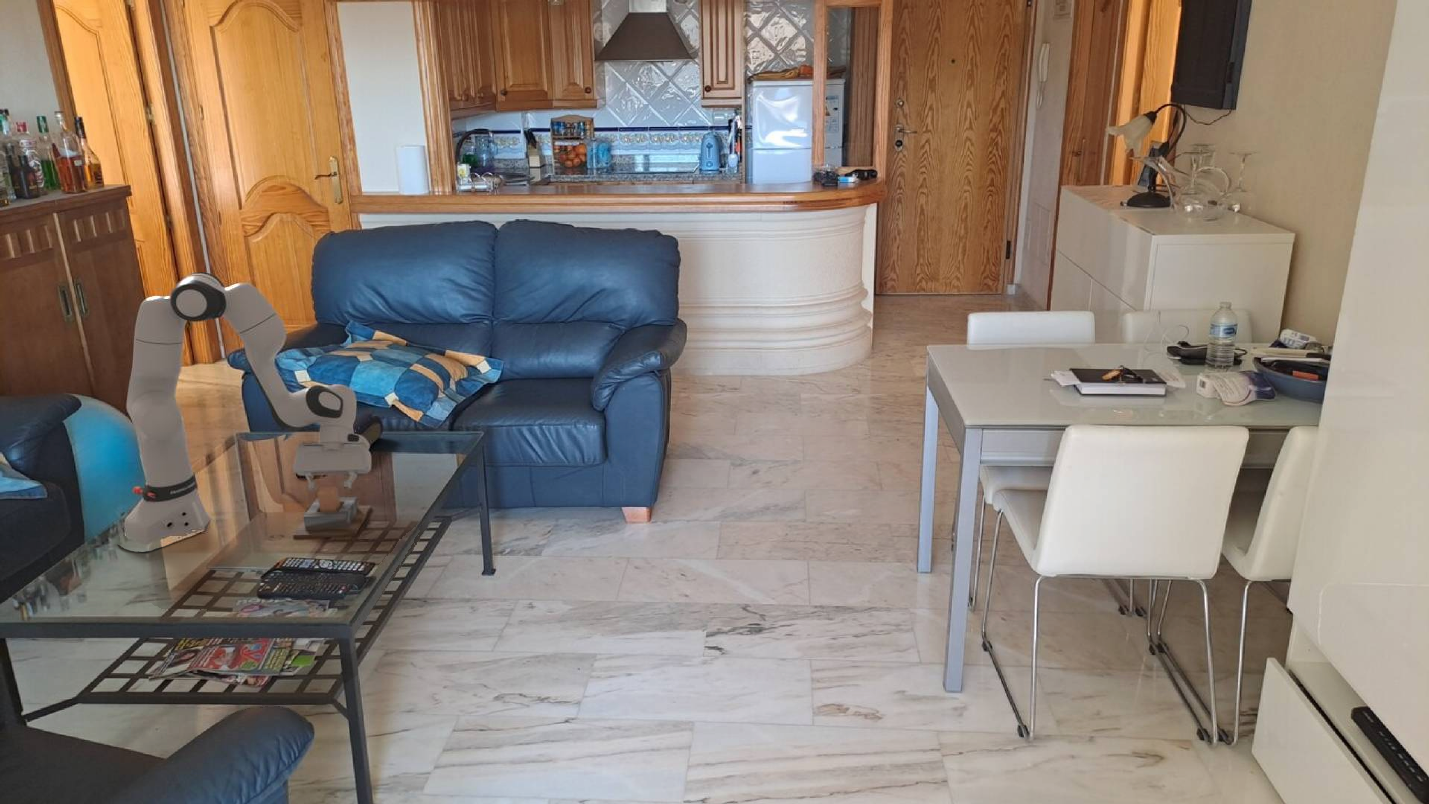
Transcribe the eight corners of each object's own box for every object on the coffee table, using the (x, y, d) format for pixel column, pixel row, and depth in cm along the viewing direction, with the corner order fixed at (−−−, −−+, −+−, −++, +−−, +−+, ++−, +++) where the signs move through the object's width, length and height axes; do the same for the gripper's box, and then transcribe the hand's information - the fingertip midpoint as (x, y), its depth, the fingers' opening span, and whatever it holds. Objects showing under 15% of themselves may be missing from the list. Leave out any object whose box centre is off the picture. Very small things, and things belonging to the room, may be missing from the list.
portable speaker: (356, 467, 300) (351, 438, 297) (325, 467, 301) (320, 437, 298) (389, 436, 324) (385, 408, 320) (360, 435, 324) (356, 407, 321)
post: (337, 523, 264) (332, 493, 260) (322, 523, 263) (317, 493, 260) (342, 516, 267) (337, 486, 264) (327, 516, 267) (322, 487, 264)
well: (354, 536, 259) (351, 519, 257) (293, 538, 258) (290, 521, 256) (371, 508, 274) (368, 492, 272) (313, 510, 273) (310, 494, 271)
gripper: (293, 438, 266) (286, 486, 261) (368, 436, 267) (363, 483, 261) (301, 447, 272) (294, 493, 266) (375, 444, 273) (370, 491, 267)
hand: (329, 488), depth 264 cm, fingers open, 8 cm apart
